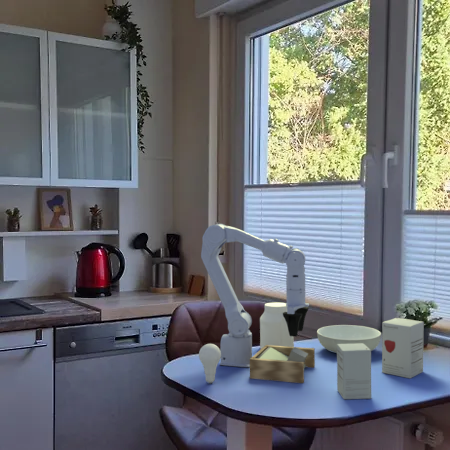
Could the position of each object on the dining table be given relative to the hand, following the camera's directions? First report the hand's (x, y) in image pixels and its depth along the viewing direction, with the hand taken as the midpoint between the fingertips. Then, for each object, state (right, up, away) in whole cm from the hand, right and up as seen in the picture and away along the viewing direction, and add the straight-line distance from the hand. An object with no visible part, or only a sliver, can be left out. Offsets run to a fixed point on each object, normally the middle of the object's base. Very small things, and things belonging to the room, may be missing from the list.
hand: (296, 333), depth 179 cm
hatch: (-5, -8, -6) cm, 11 cm away
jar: (-4, -9, +22) cm, 24 cm away
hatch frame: (-4, -10, -6) cm, 13 cm away
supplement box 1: (+12, -11, -27) cm, 31 cm away
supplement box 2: (+30, -10, -8) cm, 33 cm away
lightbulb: (-26, -11, -16) cm, 32 cm away
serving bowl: (+19, -9, +16) cm, 27 cm away
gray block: (-2, -9, -7) cm, 11 cm away
